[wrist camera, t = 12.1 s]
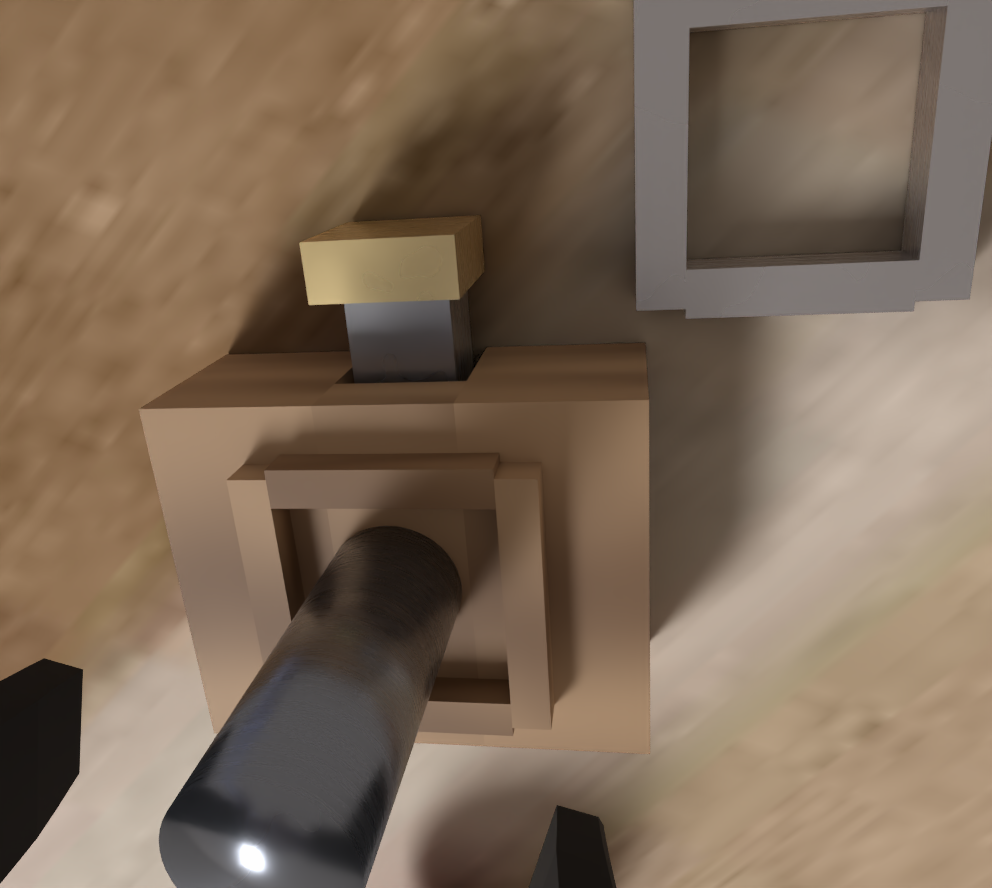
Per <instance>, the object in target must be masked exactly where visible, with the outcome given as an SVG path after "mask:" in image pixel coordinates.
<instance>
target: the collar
mask: <svg viewBox="0 0 992 888" xmlns="http://www.w3.org/2000/svg"><path fill="white" fill-rule="evenodd" d="M633 8H634V128H635V247H636V311H647V310H676V309H683V310H684V314H685V318H686V319H694V318H724V317H755V316H785V315H816V314H846V313H877V312H907V311H914V304H915V301H937V300H965V299H970V293H971V286H972V278H973V271H974V263H975V256H976V249H977V241H978V234H979V226H980V219H981V212H982V204H983V197H984V189H985V182H986V175H987V167H988V160H989V152H990V145H991V138H992V0H633ZM915 13H926V15H925V25H924V35H923V44H922V54H921V64H920V73H919V83H918V93H917V102H916V112H915V122H914V131H913V141H912V151H911V160H910V170H909V180H908V189H907V199H906V209H905V218H904V228H903V238H902V247H901V250H898V251H875V252H852V253H829V254H807V255H784V256H761V257H738V258H715V259H692V260H686V255H687V179H688V103H689V33H692V32H704V31H716V30H727V29H739V28H751V27H763V26H774V25H786V24H798V23H809V22H821V21H833V20H844V19H856V18H868V17H880V16H891V15H903V14H915Z"/></svg>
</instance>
